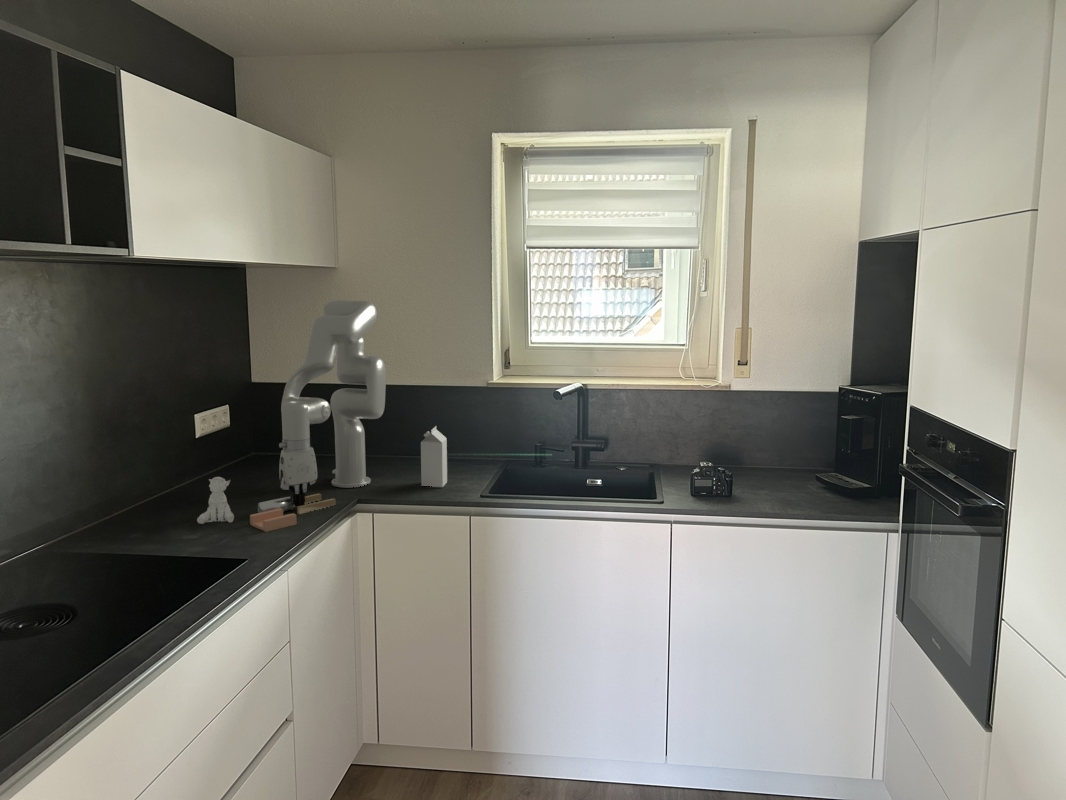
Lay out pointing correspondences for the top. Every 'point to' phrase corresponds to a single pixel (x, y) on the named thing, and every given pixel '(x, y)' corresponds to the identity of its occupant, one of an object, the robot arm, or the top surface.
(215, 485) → the white creature statuette
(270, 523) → the cradle
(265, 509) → the grey cylinder
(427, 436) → the milk carton
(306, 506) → the channel beam
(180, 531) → the top surface
